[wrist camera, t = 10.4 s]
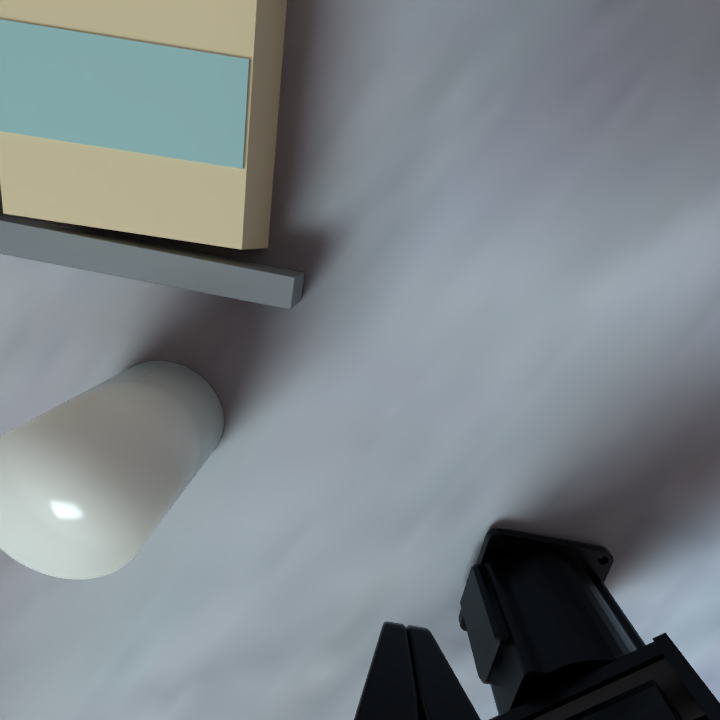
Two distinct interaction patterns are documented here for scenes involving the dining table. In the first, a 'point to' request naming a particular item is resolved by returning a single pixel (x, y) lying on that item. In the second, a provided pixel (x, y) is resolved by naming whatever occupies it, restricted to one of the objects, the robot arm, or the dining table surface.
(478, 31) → the dining table surface
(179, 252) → the frame
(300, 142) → the dining table surface
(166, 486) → the cylindrical block
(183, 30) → the carton
